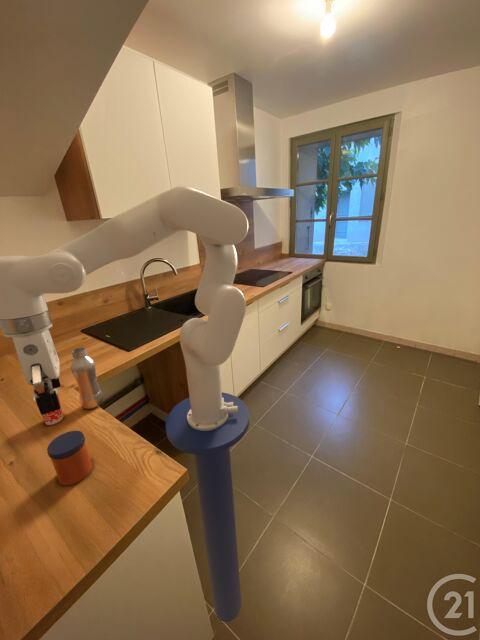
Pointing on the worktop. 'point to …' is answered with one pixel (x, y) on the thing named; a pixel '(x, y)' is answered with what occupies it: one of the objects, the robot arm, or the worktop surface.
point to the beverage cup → (52, 413)
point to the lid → (66, 445)
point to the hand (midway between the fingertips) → (51, 399)
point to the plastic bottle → (86, 379)
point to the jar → (73, 467)
